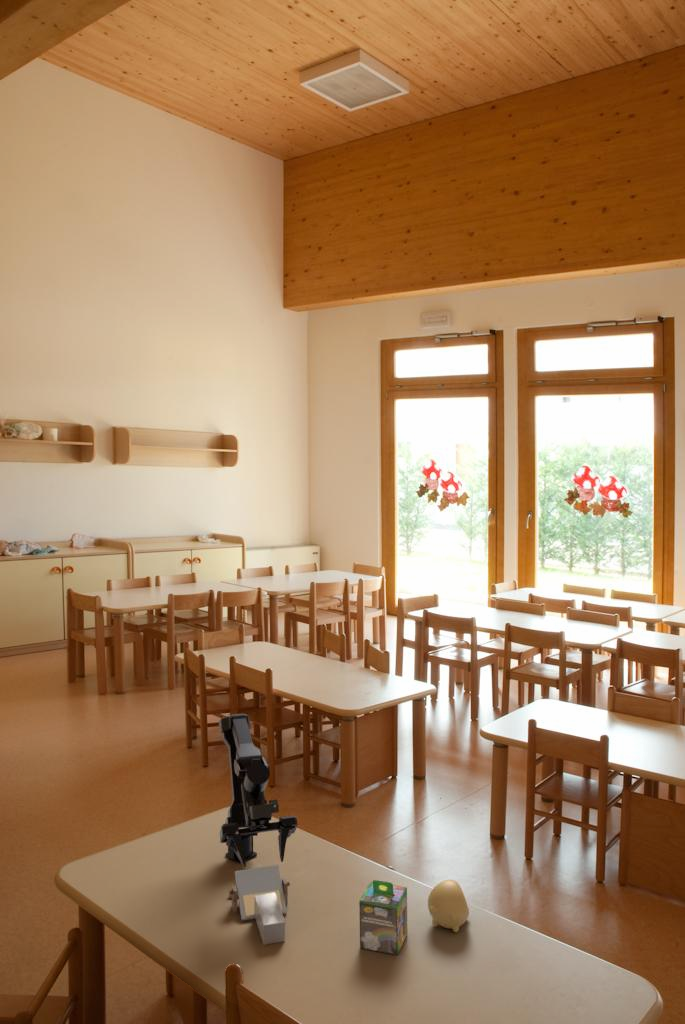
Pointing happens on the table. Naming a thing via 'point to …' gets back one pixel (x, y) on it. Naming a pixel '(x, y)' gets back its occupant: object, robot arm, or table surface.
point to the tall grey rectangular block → (269, 918)
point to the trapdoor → (258, 888)
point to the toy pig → (448, 905)
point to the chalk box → (383, 917)
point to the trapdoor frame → (234, 894)
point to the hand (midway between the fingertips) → (263, 864)
